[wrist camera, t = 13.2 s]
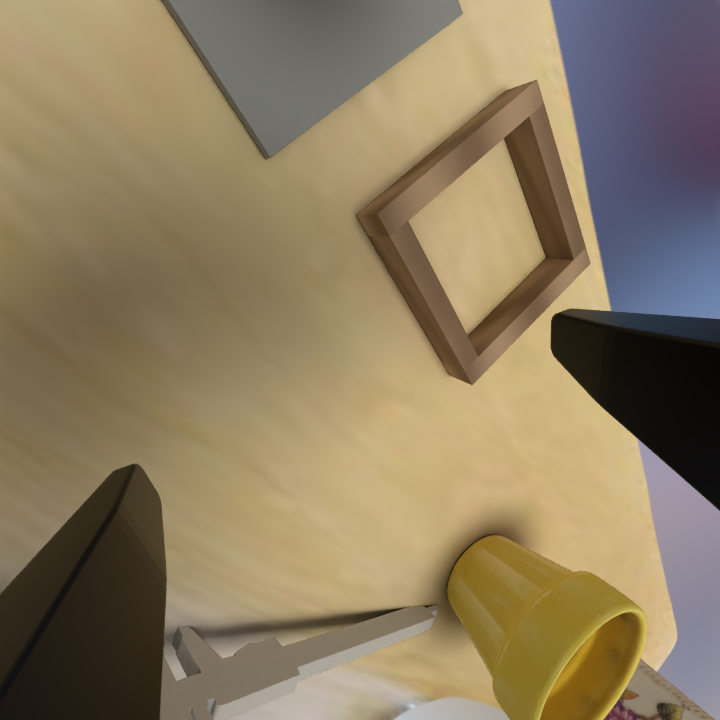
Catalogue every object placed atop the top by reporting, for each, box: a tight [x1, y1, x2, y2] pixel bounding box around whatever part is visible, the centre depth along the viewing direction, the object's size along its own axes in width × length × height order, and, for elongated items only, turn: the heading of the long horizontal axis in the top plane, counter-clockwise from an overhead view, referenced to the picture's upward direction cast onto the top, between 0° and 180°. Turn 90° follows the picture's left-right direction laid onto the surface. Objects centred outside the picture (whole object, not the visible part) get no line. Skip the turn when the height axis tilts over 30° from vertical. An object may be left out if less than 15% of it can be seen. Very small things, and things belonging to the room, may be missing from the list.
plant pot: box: [447, 535, 647, 720], centre depth 30 cm, size 10×10×10 cm
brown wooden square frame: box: [356, 80, 590, 385], centre depth 24 cm, size 11×11×2 cm
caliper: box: [160, 605, 439, 720], centre depth 24 cm, size 20×1×6 cm, turn 67°
